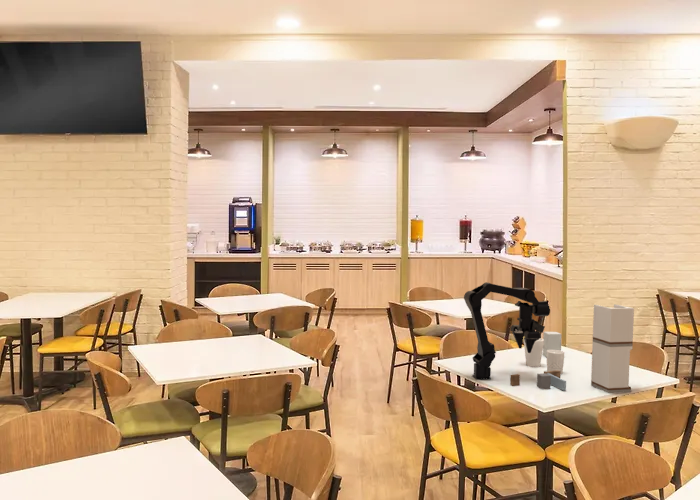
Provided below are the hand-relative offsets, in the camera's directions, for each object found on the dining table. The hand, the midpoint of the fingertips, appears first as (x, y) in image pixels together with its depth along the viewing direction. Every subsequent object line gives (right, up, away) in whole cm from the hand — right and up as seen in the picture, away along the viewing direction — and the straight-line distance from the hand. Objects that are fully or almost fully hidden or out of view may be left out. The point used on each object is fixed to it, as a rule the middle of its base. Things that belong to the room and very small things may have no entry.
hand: (524, 350), depth 259 cm
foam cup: (+11, -11, +22) cm, 27 cm away
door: (+9, -13, -15) cm, 22 cm away
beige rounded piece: (+17, -12, +9) cm, 23 cm away
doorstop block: (+3, -13, -16) cm, 21 cm away
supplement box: (+27, -11, +43) cm, 52 cm away
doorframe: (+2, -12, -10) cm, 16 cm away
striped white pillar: (+31, -14, -16) cm, 38 cm away
